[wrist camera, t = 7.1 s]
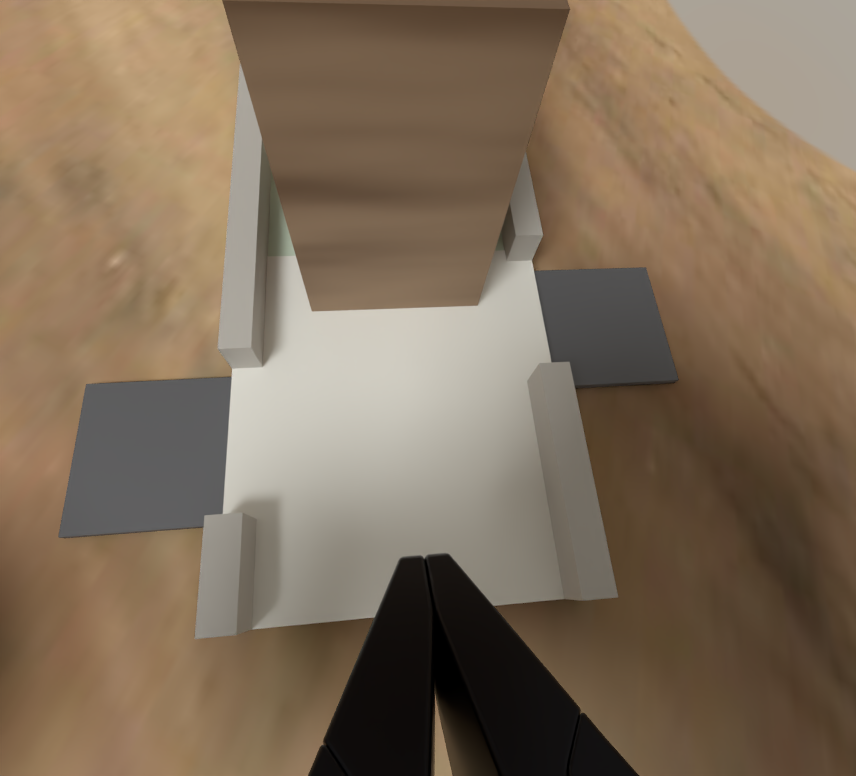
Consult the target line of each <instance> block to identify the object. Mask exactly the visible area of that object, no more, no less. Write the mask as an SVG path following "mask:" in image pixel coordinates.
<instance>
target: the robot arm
mask: <svg viewBox="0 0 856 776" xmlns="http://www.w3.org/2000/svg"><path fill="white" fill-rule="evenodd" d="M435 694H436V700H437V706H438V711H439V716H440V720H441V725H442V729H443V734H444V738H445V743H446V748H447V752H448V757H449V761H450V766H451V770H452V775H453V776H639V775H638V774H637V773H636V772H635V770H634V769H633V768H632V767H631V766H630V765H629V764H628V763H627V762H626V760H625V759H624V758H623V757H622V756H621V755H620V754H619V753H618V751H617V750H616V749H615V748H614V747H613V746H612V745H611V744H610V742H609V741H608V740H607V739H606V738H605V737H604V736H603V734H602V733H601V732H600V731H599V730H598V728H597V727H596V726H595V725H594V724H593V723H592V721H591V720H590V719H589V718H588V717H587V715H586V714H585V713H581V714H580V712H581V710H580V708H579V706H578V705H577V704H576V703H575V702H574V700H573V699H572V698H571V697H570V696H569V694H568V693H567V692H566V691H565V690H564V689H563V687H562V686H561V685H560V684H559V683H558V682H557V680H556V679H555V678H554V677H553V676H552V674H551V673H550V672H549V671H548V670H547V669H546V667H545V666H544V665H543V664H542V663H541V661H540V660H539V659H538V658H537V657H536V656H535V654H534V653H533V652H532V651H531V650H530V648H529V647H528V646H527V645H526V644H525V643H524V641H523V640H522V639H521V638H520V637H519V635H518V634H517V633H516V632H515V631H514V630H513V628H512V627H511V626H510V625H509V624H508V623H507V621H506V620H505V619H504V618H503V617H502V615H501V614H500V613H499V612H498V611H497V610H496V608H495V607H494V606H493V605H492V604H491V602H490V601H489V600H488V599H487V598H486V597H485V595H484V594H483V593H482V592H481V591H480V589H479V588H478V587H477V586H476V585H475V584H474V582H473V581H472V580H471V579H470V578H469V576H468V575H467V574H466V573H465V572H464V571H463V569H462V568H461V567H460V566H459V565H458V564H457V562H456V561H455V560H454V559H453V558H452V556H451V555H450V554H448V553H438V554H428V555H426V557H425V559H424V557H423V556H422V555H415V556H403V557H401V558H400V559H399V560H398V563H397V565H396V567H395V570H394V572H393V575H392V577H391V579H390V582H389V584H388V586H387V589H386V591H385V594H384V596H383V598H382V601H381V603H380V606H379V608H378V610H377V613H376V615H375V618H374V620H373V622H372V625H371V627H370V629H369V632H368V634H367V637H366V639H365V641H364V644H363V646H362V649H361V651H360V653H359V656H358V658H357V661H356V663H355V665H354V668H353V670H352V673H351V675H350V677H349V680H348V682H347V684H346V687H345V689H344V692H343V694H342V696H341V699H340V701H339V704H338V706H337V708H336V711H335V713H334V716H333V718H332V720H331V723H330V725H329V727H328V730H327V732H326V735H325V737H324V740H323V744H324V745H322V746H321V747H320V748H319V751H318V753H317V755H316V758H315V760H314V763H313V765H312V767H311V770H310V772H309V774H308V776H434V765H435Z"/></svg>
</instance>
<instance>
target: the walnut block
mask: <svg viewBox="0 0 856 776" xmlns="http://www.w3.org/2000/svg"><path fill="white" fill-rule="evenodd" d="M222 1H223V4H224V8H225V11H226V15H227V18H228V21H229V25H230V28H231V32H232V35H233V39H234V42H235V46H236V49H237V53H238V56H239V60H240V63H241V67H242V70H243V74H244V77H245V81H246V84H247V88H248V91H249V95H250V98H251V102H252V105H253V109H254V112H255V115H256V119H257V122H258V126H259V129H260V133H261V136H262V140H263V143H264V147H265V150H266V154H267V157H268V161H269V164H270V168H271V171H272V175H273V178H274V182H275V185H276V189H277V192H278V196H279V199H280V203H281V206H282V209H283V213H284V216H285V220H286V223H287V227H288V230H289V234H290V237H291V241H292V244H293V248H294V251H295V255H296V258H297V262H298V265H299V269H300V272H301V276H302V279H303V283H304V286H305V290H306V293H307V297H308V300H309V304H310V307H311V310H312V311H340V310H368V309H397V308H426V307H454V306H478V303H479V300H480V297H481V293H482V290H483V287H484V284H485V280H486V277H487V274H488V271H489V268H490V264H491V261H492V258H493V255H494V251H495V248H496V245H497V242H498V239H499V235H500V232H501V229H502V226H503V223H504V219H505V216H506V213H507V210H508V206H509V203H510V200H511V197H512V194H513V190H514V187H515V184H516V181H517V178H518V174H519V171H520V168H521V165H522V161H523V158H524V155H525V152H526V149H527V145H528V142H529V139H530V136H531V132H532V129H533V126H534V123H535V120H536V116H537V113H538V110H539V107H540V104H541V100H542V97H543V94H544V91H545V87H546V84H547V81H548V78H549V75H550V71H551V68H552V65H553V62H554V59H555V55H556V52H557V49H558V46H559V42H560V39H561V36H562V33H563V30H564V26H565V23H566V20H567V17H568V13H569V10H570V8H569V5H568V1H567V0H222Z"/></svg>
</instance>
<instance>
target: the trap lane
mask: <svg viewBox="0 0 856 776" xmlns="http://www.w3.org/2000/svg"><path fill="white" fill-rule="evenodd" d="M542 236H543V232H542V227H541V222H540V218H539V213H538V208H537V203H536V198H535V193H534V189H533V184H532V179H531V174H530V169H529V165H528V160H527V155H526V152H525V155H524V158H523V161H522V165H521V168H520V171H519V174H518V178H517V181H516V184H515V187H514V190H513V194H512V197H511V200H510V203H509V206H508V210H507V213H506V216H505V219H504V223H503V226H502V229H501V232H500V235H499V239H498V242H497V245H496V248H495V251H494V255H493V258H492V261H491V264H490V268H489V271H488V274H487V277H486V280H485V284H484V287H483V290H482V293H481V297H480V300H479V303H478V306H454V307H426V308H397V309H368V310H340V311H312V310H311V307H310V304H309V300H308V297H307V293H306V290H305V286H304V283H303V279H302V276H301V272H300V269H299V265H298V262H297V258H296V255H295V251H294V248H293V244H292V241H291V237H290V234H289V230H288V227H287V223H286V220H285V216H284V213H283V209H282V206H281V203H280V199H279V196H278V192H277V189H276V185H275V182H274V178H273V175H272V171H271V168H270V164H269V161H268V157H267V154H266V150H265V147H264V143H263V140H262V136H261V133H260V129H259V126H258V122H257V119H256V115H255V112H254V109H253V105H252V102H251V98H250V95H249V91H248V88H247V84H246V81H245V77H244V74H243V70H242V67H241V63H240V72H239V85H238V97H237V110H236V123H235V135H234V148H233V161H232V173H231V186H230V199H229V211H228V224H227V237H226V249H225V262H224V275H223V287H222V300H221V313H220V325H219V338H218V350H219V351H220V353H221V354H222V356H223V357H224V358H225V360H226V361H227V362H228V364H229V365H230V366H231V368H232V377H223V378H203V379H182V380H162V381H141V382H120V383H100V384H86V388H85V393H84V399H83V404H82V410H81V415H80V421H79V426H78V432H77V437H76V443H75V448H74V454H73V459H72V465H71V470H70V476H69V481H68V487H67V492H66V498H65V503H64V509H63V514H62V520H61V526H60V531H59V538H73V537H86V536H99V535H112V534H125V533H138V532H151V531H164V530H177V529H190V528H203V527H204V528H203V541H202V553H201V566H200V579H199V591H198V604H197V617H196V629H195V639H200V638H210V637H220V636H230V635H237V634H240V633H243V632H246V631H249V630H252V629H262V628H272V627H282V626H292V625H303V624H313V623H323V622H333V621H343V620H354V619H364V618H374V617H375V615H376V613H377V610H378V608H379V606H380V603H381V601H382V598H383V596H384V594H385V591H386V589H387V586H388V584H389V582H390V579H391V577H392V575H393V572H394V570H395V567H396V565H397V563H398V560H399V559H400V558H401V557H403V556H415V555H422V556H423V557H424V559H425V557H426V555H428V554H438V553H448V554H450V555H451V556H452V558H453V559H454V560H455V561H456V562H457V564H458V565H459V566H460V567H461V568H462V569H463V571H464V572H465V573H466V574H467V575H468V576H469V578H470V579H471V580H472V581H473V582H474V584H475V585H476V586H477V587H478V588H479V589H480V591H481V592H482V593H483V594H484V595H485V597H486V598H487V599H488V600H489V601H490V602H491V604H492V605H493V606H497V605H507V604H517V603H528V602H538V601H548V600H558V599H570V600H580V601H586V600H596V599H606V598H616V597H618V593H617V588H616V583H615V579H614V574H613V569H612V564H611V559H610V555H609V550H608V545H607V540H606V535H605V530H604V526H603V521H602V516H601V511H600V506H599V502H598V497H597V492H596V487H595V482H594V477H593V473H592V468H591V463H590V458H589V453H588V449H587V444H586V439H585V434H584V429H583V425H582V420H581V415H580V410H579V405H578V400H577V396H576V391H575V388H590V387H609V386H627V385H645V384H664V383H675V382H676V381H678V380H679V379H678V376H677V372H676V369H675V366H674V362H673V359H672V355H671V352H670V348H669V345H668V342H667V338H666V335H665V331H664V328H663V325H662V321H661V318H660V314H659V311H658V307H657V304H656V301H655V297H654V294H653V290H652V287H651V283H650V280H649V277H648V273H647V270H646V268H613V269H579V270H546V271H534V269H533V264H532V259H533V257H534V254H535V252H536V250H537V248H538V245H539V243H540V241H541V239H542Z"/></svg>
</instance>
